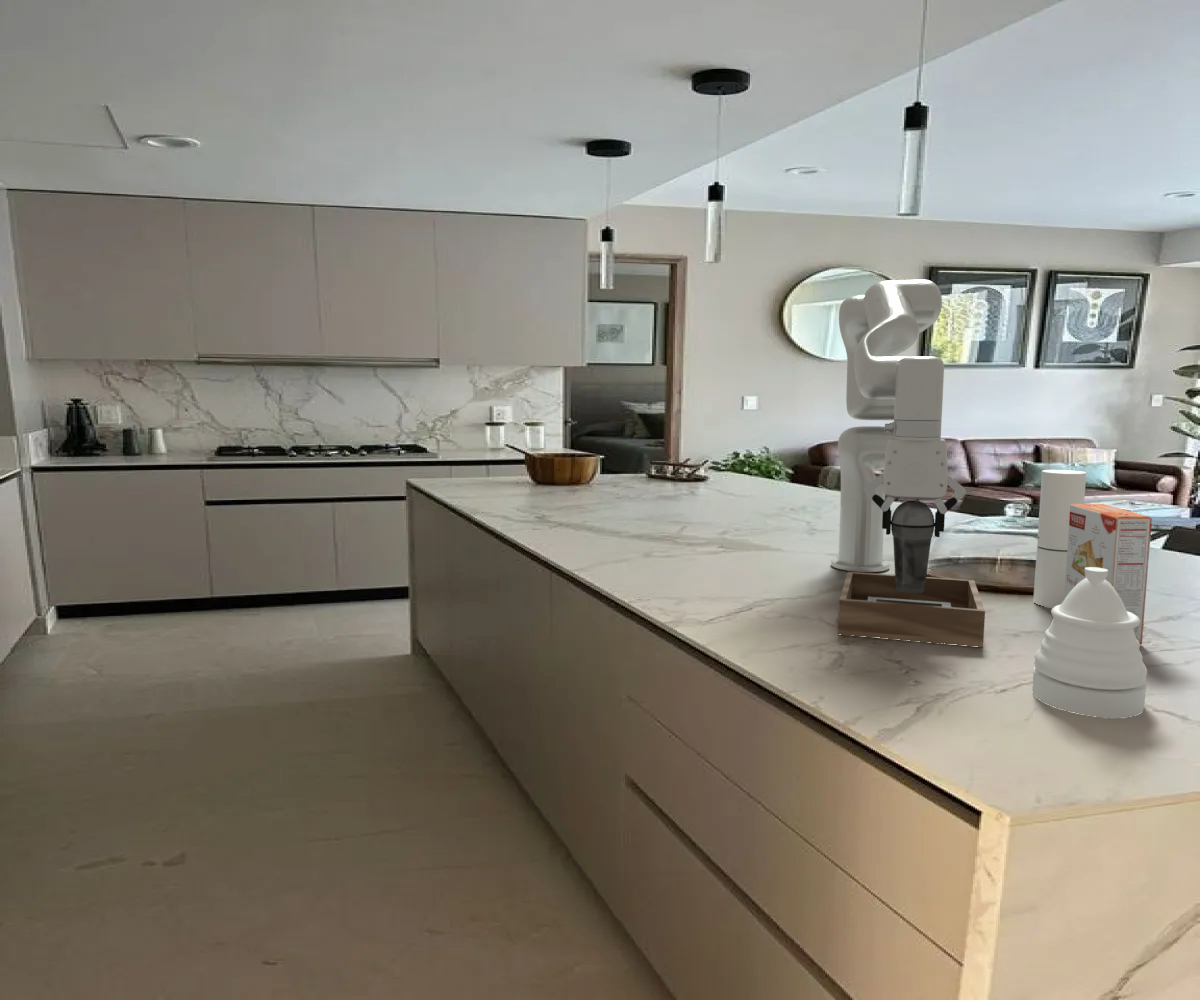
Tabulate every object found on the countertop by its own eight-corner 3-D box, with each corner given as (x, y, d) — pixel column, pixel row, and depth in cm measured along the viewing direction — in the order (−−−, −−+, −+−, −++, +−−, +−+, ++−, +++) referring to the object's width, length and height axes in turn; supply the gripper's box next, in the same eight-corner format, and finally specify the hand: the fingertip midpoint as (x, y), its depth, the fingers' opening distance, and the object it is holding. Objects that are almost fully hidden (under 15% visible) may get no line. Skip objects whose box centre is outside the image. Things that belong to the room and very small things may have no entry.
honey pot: (1144, 726, 103) (1157, 582, 101) (1027, 706, 110) (1036, 570, 108) (1143, 693, 114) (1155, 562, 112) (1036, 676, 121) (1045, 552, 118)
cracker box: (1059, 621, 148) (1068, 502, 145) (1095, 621, 148) (1104, 502, 145) (1104, 646, 134) (1114, 515, 132) (1143, 646, 134) (1154, 515, 131)
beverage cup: (880, 585, 150) (884, 472, 147) (920, 584, 150) (925, 472, 148) (898, 595, 143) (903, 477, 140) (940, 594, 143) (945, 476, 140)
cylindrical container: (1072, 600, 162) (1081, 470, 158) (1079, 610, 155) (1090, 474, 151) (1030, 598, 164) (1039, 469, 160) (1036, 607, 157) (1045, 473, 154)
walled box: (846, 602, 161) (847, 571, 161) (972, 612, 154) (974, 580, 153) (838, 635, 141) (839, 600, 140) (982, 648, 134) (985, 611, 133)
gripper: (862, 431, 142) (858, 535, 145) (975, 432, 136) (969, 541, 139) (863, 429, 149) (860, 528, 152) (971, 430, 143) (965, 533, 146)
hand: (912, 533), depth 145 cm, fingers closed on beverage cup, 7 cm apart
